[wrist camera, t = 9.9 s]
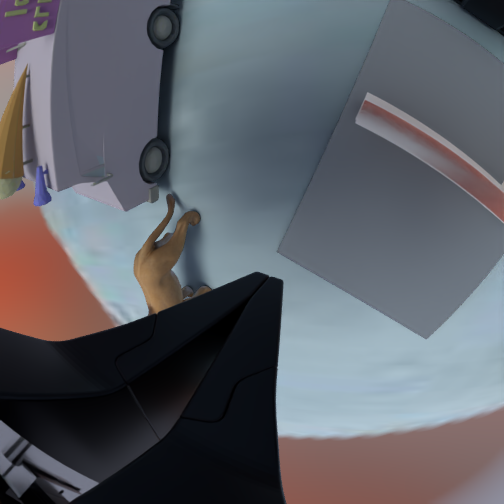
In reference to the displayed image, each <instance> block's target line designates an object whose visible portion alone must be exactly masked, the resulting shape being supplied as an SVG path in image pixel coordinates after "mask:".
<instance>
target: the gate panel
mask: <svg viewBox="0 0 504 504" xmlns="http://www.w3.org/2000/svg"><path fill="white" fill-rule="evenodd" d="M355 123H356V124H358V125H360V126H362V127H364V128H366V129H368V130H370V131H372V132H374V133H375V134H377V135H379V136H381V137H383V138H385V139H386V140H388V141H390V142H392V143H394V144H395V145H397V146H399V147H400V148H402V149H404V150H406V151H407V152H409V153H410V154H412V155H414V156H415V157H417V158H419V159H420V160H422V161H423V162H425V163H426V164H428V165H429V166H431V167H432V168H434V169H435V170H437V171H438V172H440V173H441V174H443V175H444V176H445V177H447V178H448V179H450V180H451V181H452V182H454V183H455V184H456V185H458V186H459V187H461V188H462V189H463V190H464V191H466V192H467V193H468V194H470V195H471V196H472V197H473V198H475V199H476V200H477V201H478V202H480V203H481V204H482V205H483V206H484V207H486V208H487V209H488V210H489V211H490V212H491V213H493V214H494V215H495V216H496V217H497V218H498V219H499V220H501V221H502V222H503V223H504V191H502V190H501V189H500V188H499V187H498V186H497V185H496V184H495V183H493V182H492V181H491V180H490V179H489V178H488V177H486V176H485V175H484V174H483V173H482V172H480V171H479V170H478V169H477V168H476V167H474V166H473V165H472V164H470V163H469V162H468V161H467V160H465V159H464V158H463V157H461V156H460V155H459V154H457V153H456V152H454V151H453V150H452V149H450V148H449V147H447V146H446V145H445V144H443V143H442V142H440V141H439V140H437V139H436V138H434V137H433V136H431V135H429V134H428V133H426V132H425V131H423V130H422V129H420V128H418V127H417V126H415V125H413V124H412V123H410V122H408V121H407V120H405V119H403V118H401V117H400V116H398V115H396V114H394V113H392V112H390V111H389V110H387V109H385V108H383V107H381V106H379V105H377V104H375V103H373V102H371V101H369V100H367V99H365V101H364V103H363V106H362V108H361V110H360V113H359V115H358V117H357V120H356V122H355Z"/></svg>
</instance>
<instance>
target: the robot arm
mask: <svg viewBox="0 0 504 504" xmlns="http://www.w3.org/2000/svg"><path fill="white" fill-rule="evenodd" d="M454 1H456V2H457V3H459V4H460V5H462V6H463V7H464V8H465V9H466V10H468V11H469V12H471V13H472V14H474V15H475V16H477V17H478V18H480V19H481V20H483V21H484V22H485V23H487V24H488V25H489V26H491V27H492V28H493V29H495V30H498V31H499V32H500V33H501V34H503V35H504V0H454ZM282 299H283V280H281V279H278V278H275V277H269V276H268V275H266V274H263V273H260V272H254V273H252V274H249V275H247V276H245V277H242V278H240V279H237V280H235V281H233V282H230V283H228V284H225V285H223V286H221V287H218V288H216V289H213V290H211V291H208V292H206V293H204V294H201V295H199V296H196V297H194V298H191V299H189V300H186V301H184V302H182V303H179V304H177V305H174V306H172V307H169V308H167V309H164V310H162V311H159V312H158V313H157V314H156V313H154V314H151V315H149V316H146V317H144V318H141V319H138V320H136V321H133V322H130V323H127V324H124V325H121V326H118V327H114V328H111V329H108V330H104V331H101V332H97V333H93V334H90V335H86V336H82V337H78V338H75V339H71V340H66V341H46V340H41V339H38V338H34V337H30V336H26V335H22V334H19V333H16V332H12V331H9V330H6V329H2V328H0V504H286V500H285V496H284V492H283V487H282V481H281V472H280V461H279V447H278V432H277V419H276V383H277V370H278V369H277V367H278V356H279V343H280V329H281V315H282Z"/></svg>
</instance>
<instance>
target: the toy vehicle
mask: <svg viewBox="0 0 504 504" xmlns="http://www.w3.org/2000/svg"><path fill="white" fill-rule="evenodd" d="M170 1H171V0H0V64H3V63H5V62H8V61H11V60H14V59H15V73H14V91H13V93H12V95H11V98H10V100H9V102H8V105H7V107H6V109H5V111H4V114H3V116H2V119H1V122H0V199H5V198H7V197H9V196H11V195H13V194H14V193H15V192H16V191H18V190H20V189H22V188H24V187H25V184H24V182H23V181H22V177H24V178H27V179H29V180H31V181H34V182H36V188H35V198H34V205H35V206H41V205H45V204H47V203H48V202H50V201H51V196H50V194H49V193H48V191H47V188H46V187H48V188H51V189H53V190H55V191H58V192H59V191H62V190H64V189H67V188H69V187H72V188H73V189H74V191H75V192H76V193H78V194H80V195H83V196H86V197H88V198H91V199H94V200H96V201H99V202H102V203H104V204H107V205H109V206H112V207H115V208H117V209H120V210H123V211H129V210H130V209H132V208H134V207H136V206H138V205H140V204H142V203H144V202H146V201H147V202H150V203H154V202H155V201H157V200H158V198H159V186H157V183H154V182H151V181H154V180H156V179H159V178H160V176H161V175H162V174H163V173H164V172H165V170H166V168H167V165H168V161H169V151H168V147H167V146H166V144H165V143H164V142H163V141H162V140H160V139H157V138H155V137H157V124H158V104H159V89H160V77H161V67H162V57H163V50H161V48H165V47H167V46H169V45H170V44H171V43H173V42H174V40H175V39H176V37H177V36H178V32H179V20H178V18H177V16H176V14H175V13H174V12H173V11H171V10H174V9H178V6H179V5H176V4H173V3H170Z"/></svg>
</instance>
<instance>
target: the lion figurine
mask: <svg viewBox="0 0 504 504" xmlns="http://www.w3.org/2000/svg"><path fill="white" fill-rule="evenodd" d="M166 199H167V204H168V213H167V215H166V217H165V218H164V220H163V221H162V222H161V223H160V224H159V226H158V227H157V228H156V229H155V230H154V231H153V233H152V234H151V235H150V236H149V238H148V239H147V241H146V242H145V244H144V245H143V247H142V249H140V250H139V251H138V253H137V254H136V257H135V260H134V275H135V277H136V279H137V281H138V282H139V284H140V286H141V288H142V290H143V292H144V295H145V298H146V302H147V305H148V309H149V314H148V316H149V315H151V314H154V313H156V314H157V313H158V312H159V311H162V310H164V309H167V308H169V307H172V306H174V305H177V304H179V303H182V302H184V301H186V300H189V299H191V298H194V297H196V296H199V295H201V294H204V293H206V292H208V291H211V289H210V288H209V287H207V286H201V287H200V288H199V289H198V290H197V291H196V293H195V294H194V293H193V290H192V289H191V288H190V287H188V286H185V287H183V288H182V289H181V285H180V282H179V280H178V278H177V276H176V275H175V273H174V272H173V271H172V270H171V269H172V268H173V266H174V265H175V264H176V262H177V261H178V259H179V257H180V255H181V252H182V250H183V248H184V244H185V238H186V233H187V229H188V225H189V223H190V224H191V225H192V226H195V225H196V224H198V223H199V221H200V216H199V214H198V213H197V212H195V211H189V212H186V213H185V214H184V215H183V216H182V217H181V219H180V220H179V221H178V222H177V227H176V230H175V232H174V234H172V233H166V234H165V235H164V237H163V238H162V239H161V240H159V241H156V239H157V238H158V237H159V236H160V234H161V233H162V232H163V230H164V229H165V227H166V226H167V224H168V223H169V221H170V219H171V217H172V215H173V212H174V207H175V199H174V198H173V196H172V195H171V194H168V195H167V196H166ZM155 241H156V242H155ZM193 294H194V295H193ZM187 296H188V297H191V298H187V299H185V300H183V299H184V298H186V297H187Z"/></svg>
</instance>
